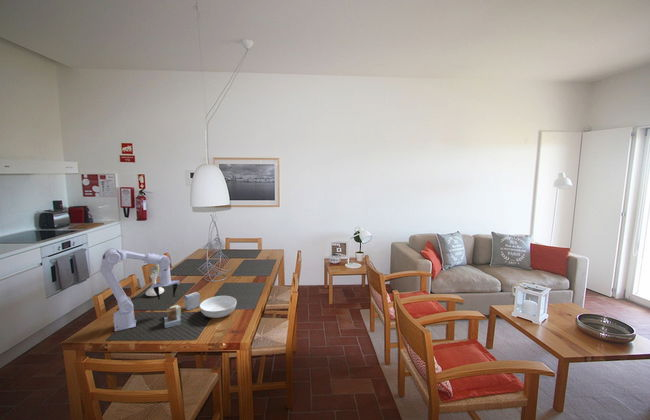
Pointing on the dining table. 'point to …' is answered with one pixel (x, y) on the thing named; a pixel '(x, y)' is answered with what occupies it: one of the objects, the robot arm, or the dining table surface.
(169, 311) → the walnut block
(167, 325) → the base block
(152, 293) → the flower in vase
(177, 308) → the sage block
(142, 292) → the dining table surface
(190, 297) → the medicine box
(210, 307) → the serving bowl
